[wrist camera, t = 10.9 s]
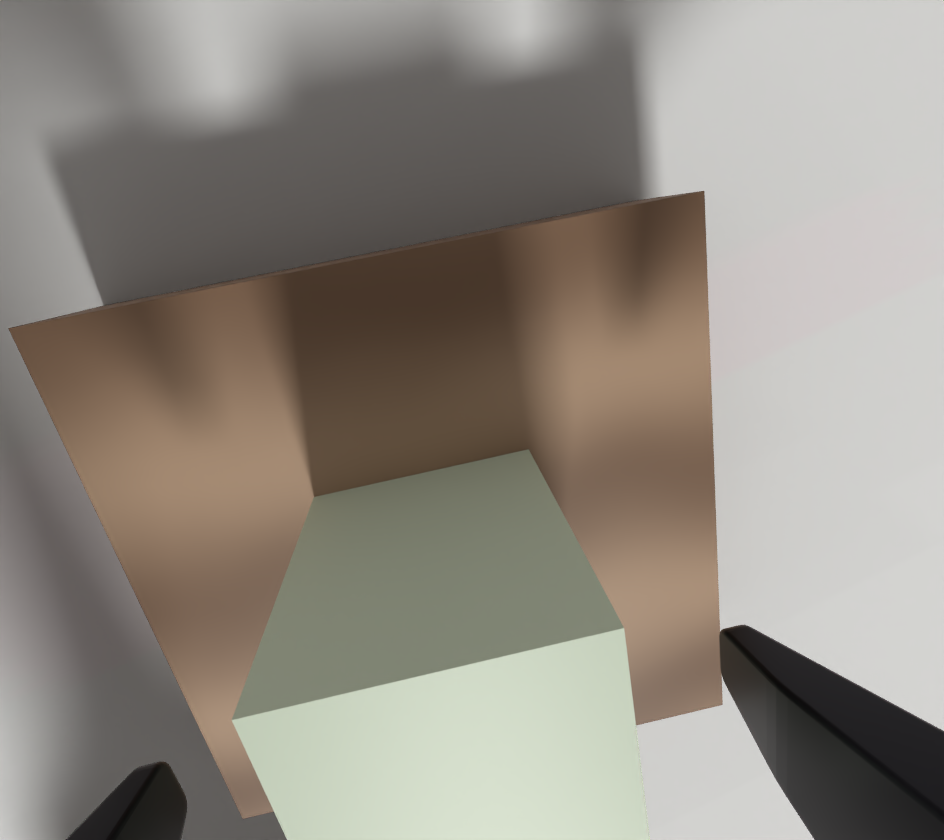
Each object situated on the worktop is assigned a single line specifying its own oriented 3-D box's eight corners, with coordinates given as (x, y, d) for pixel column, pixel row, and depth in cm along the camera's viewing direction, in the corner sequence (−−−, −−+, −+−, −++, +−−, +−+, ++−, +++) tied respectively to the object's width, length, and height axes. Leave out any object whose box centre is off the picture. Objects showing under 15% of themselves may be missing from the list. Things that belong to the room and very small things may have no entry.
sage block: (558, 622, 14) (655, 879, 9) (369, 666, 14) (341, 958, 8) (528, 449, 13) (624, 627, 7) (313, 496, 12) (231, 719, 7)
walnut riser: (662, 614, 20) (722, 704, 16) (275, 703, 19) (242, 818, 15) (629, 201, 15) (704, 190, 11) (114, 303, 14) (8, 328, 11)
